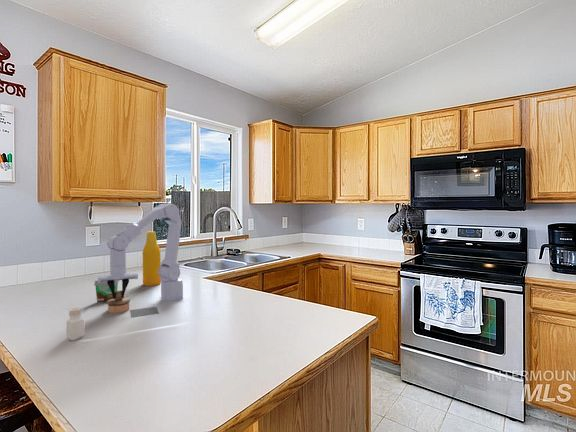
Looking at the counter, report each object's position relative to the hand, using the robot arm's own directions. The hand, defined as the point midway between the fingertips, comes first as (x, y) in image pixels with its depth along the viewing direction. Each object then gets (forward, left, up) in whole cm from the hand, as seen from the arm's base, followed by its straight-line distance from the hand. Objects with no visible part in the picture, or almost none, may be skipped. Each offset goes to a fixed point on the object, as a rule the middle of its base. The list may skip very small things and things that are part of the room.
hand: (118, 297), depth 134 cm
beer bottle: (-17, -43, -6) cm, 47 cm away
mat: (-9, +8, -5) cm, 13 cm away
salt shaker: (+13, +24, -6) cm, 28 cm away
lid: (0, 0, -2) cm, 2 cm away
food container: (+3, -20, -6) cm, 21 cm away
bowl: (0, 0, -5) cm, 5 cm away
